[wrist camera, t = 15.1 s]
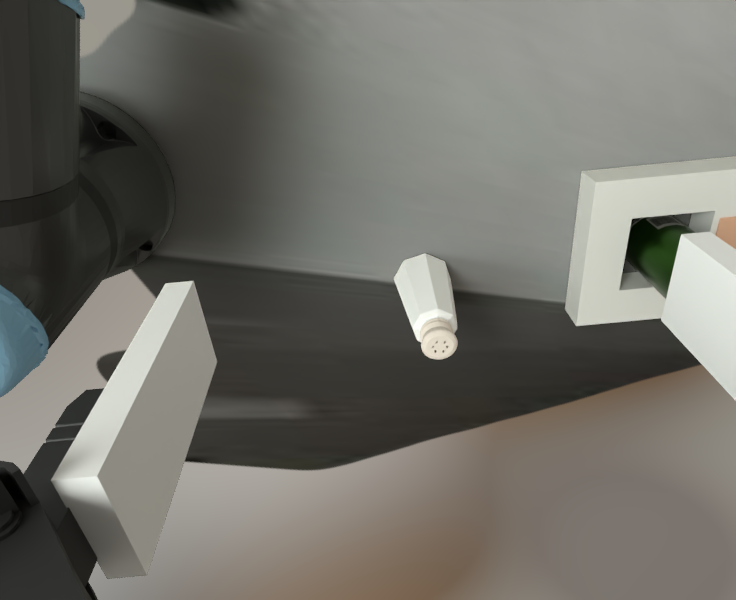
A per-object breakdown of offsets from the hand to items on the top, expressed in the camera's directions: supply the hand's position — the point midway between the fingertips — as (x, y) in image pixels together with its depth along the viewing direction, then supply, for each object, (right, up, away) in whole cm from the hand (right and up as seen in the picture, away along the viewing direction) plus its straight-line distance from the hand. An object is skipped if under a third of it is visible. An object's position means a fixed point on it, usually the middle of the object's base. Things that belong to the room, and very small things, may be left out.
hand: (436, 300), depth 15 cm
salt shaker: (+3, +2, +36) cm, 36 cm away
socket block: (+24, +6, +35) cm, 42 cm away
